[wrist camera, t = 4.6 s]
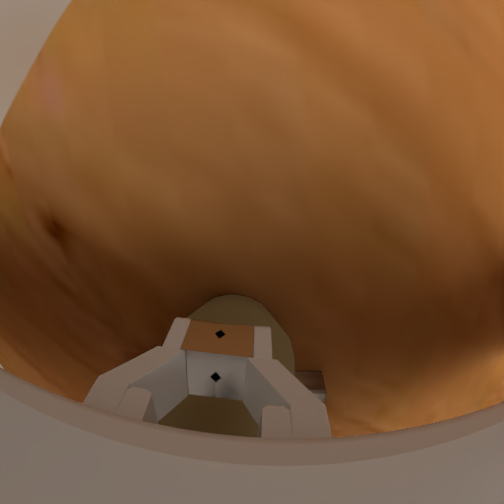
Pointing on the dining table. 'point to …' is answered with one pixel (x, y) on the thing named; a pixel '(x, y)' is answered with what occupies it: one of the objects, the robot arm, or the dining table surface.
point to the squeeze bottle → (221, 409)
